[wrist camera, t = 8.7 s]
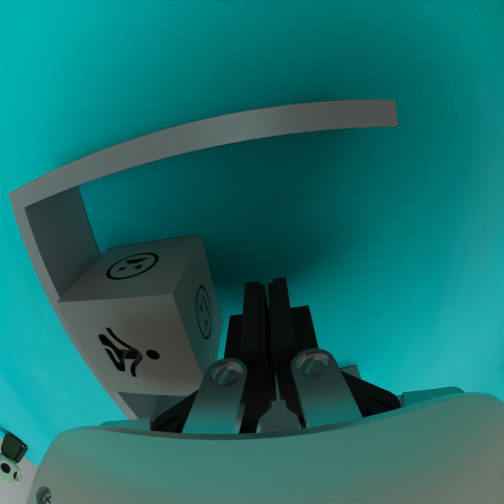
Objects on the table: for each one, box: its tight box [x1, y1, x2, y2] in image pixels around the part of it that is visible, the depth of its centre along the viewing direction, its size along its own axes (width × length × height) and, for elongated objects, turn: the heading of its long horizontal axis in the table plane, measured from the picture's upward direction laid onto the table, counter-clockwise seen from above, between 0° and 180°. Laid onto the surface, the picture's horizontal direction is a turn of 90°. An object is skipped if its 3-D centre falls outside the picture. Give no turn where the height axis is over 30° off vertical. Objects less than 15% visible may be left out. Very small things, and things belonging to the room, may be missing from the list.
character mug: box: [0, 434, 28, 488], centre depth 27 cm, size 11×7×13 cm, turn 11°
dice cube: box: [56, 234, 223, 396], centre depth 12 cm, size 5×5×5 cm
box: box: [9, 100, 398, 433], centre depth 12 cm, size 16×14×4 cm
